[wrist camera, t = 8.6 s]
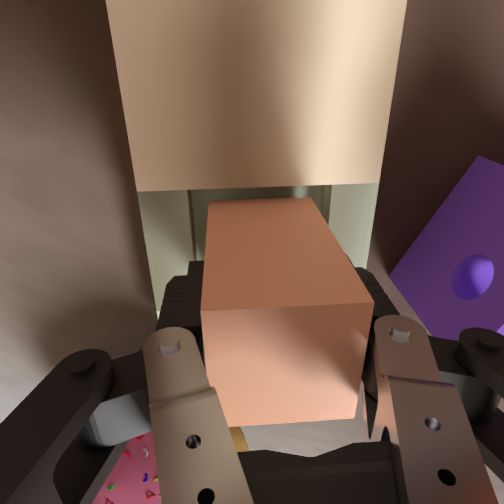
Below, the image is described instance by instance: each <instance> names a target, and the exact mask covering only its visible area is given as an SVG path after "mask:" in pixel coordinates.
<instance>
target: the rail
mask: <svg viewBox="0 0 504 504" xmlns="http://www.w3.org/2000/svg"><path fill="white" fill-rule="evenodd" d="M406 4H407V0H106V6H107V12H108V18H109V24H110V30H111V36H112V43H113V49H114V55H115V61H116V67H117V73H118V79H119V85H120V91H121V97H122V103H123V110H124V116H125V122H126V128H127V134H128V140H129V146H130V152H131V158H132V164H133V171H134V177H135V183H136V189H137V195H138V201H139V207H140V213H141V219H142V225H143V232H144V238H145V244H146V250H147V256H148V262H149V268H150V274H151V280H152V286H153V292H154V299H155V305H156V311H157V317H158V318H159V314H160V309H161V305H162V301H163V296H164V292H165V288H166V284H167V283H168V282H169V281H170V280H171V279H172V278H173V277H174V276H181V275H187V272H188V265H189V261H199V260H204V258H205V245H206V232H207V219H208V206H209V201H218V200H246V199H274V198H301V197H311V198H312V200H313V201H314V203H315V205H316V206H317V208H318V210H319V211H320V213H321V215H322V216H323V218H324V219H325V221H326V223H327V224H328V226H329V228H330V229H331V231H332V233H333V234H334V236H335V238H336V239H337V241H338V243H339V244H340V246H341V248H342V249H343V251H344V252H345V254H347V256H348V257H349V259H350V260H351V262H352V264H353V265H354V267H363V268H364V269H366V266H367V259H368V253H369V246H370V240H371V233H372V226H373V220H374V213H375V207H376V200H377V194H378V187H379V181H380V174H381V168H382V161H383V154H384V148H385V141H386V135H387V128H388V122H389V115H390V109H391V102H392V96H393V89H394V83H395V76H396V69H397V63H398V56H399V50H400V43H401V37H402V30H403V24H404V17H405V11H406Z"/></svg>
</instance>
